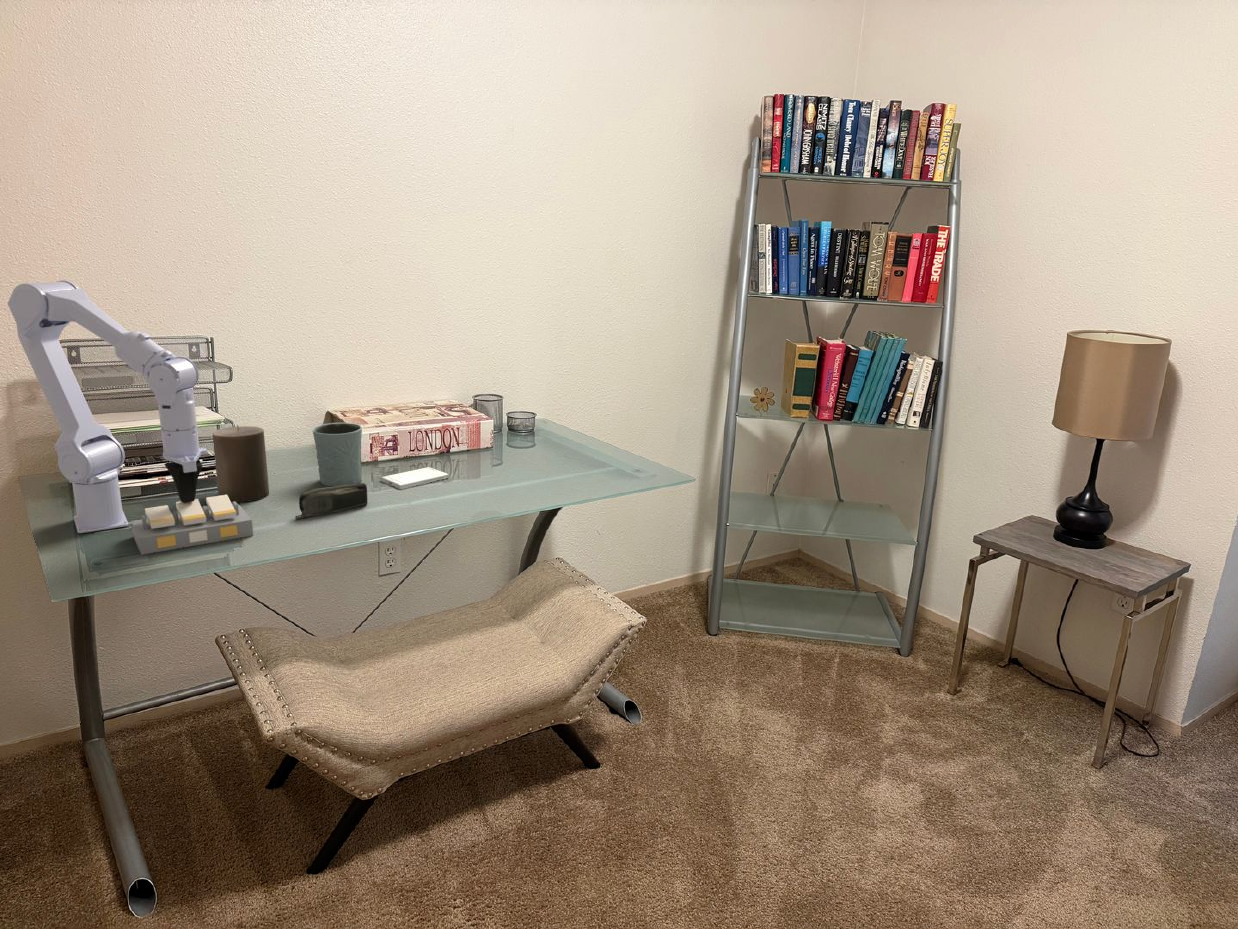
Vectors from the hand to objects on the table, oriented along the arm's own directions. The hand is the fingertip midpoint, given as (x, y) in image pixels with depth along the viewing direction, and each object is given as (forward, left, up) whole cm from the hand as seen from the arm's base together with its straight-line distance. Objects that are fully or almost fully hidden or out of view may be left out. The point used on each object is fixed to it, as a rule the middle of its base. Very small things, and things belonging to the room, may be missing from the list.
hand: (187, 500), depth 156 cm
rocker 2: (+2, 0, -1) cm, 3 cm away
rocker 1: (+2, -5, -1) cm, 6 cm away
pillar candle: (-18, +13, -6) cm, 23 cm away
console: (+2, 0, -6) cm, 6 cm away
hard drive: (-11, +47, -7) cm, 49 cm away
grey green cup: (-18, +33, -6) cm, 38 cm away
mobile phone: (+1, +25, -6) cm, 26 cm away
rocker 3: (+2, +5, -1) cm, 6 cm away
